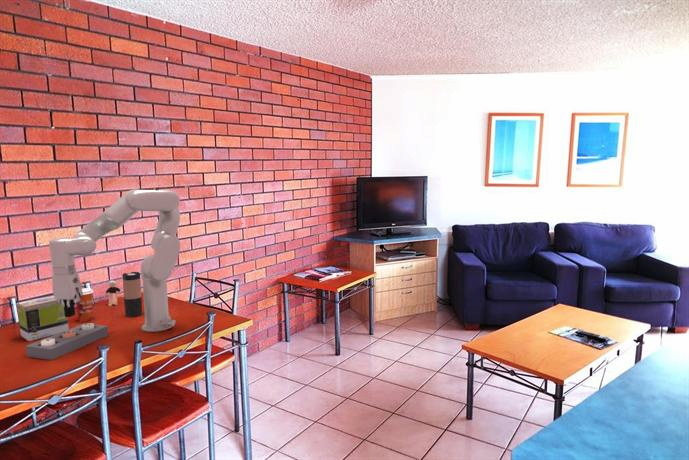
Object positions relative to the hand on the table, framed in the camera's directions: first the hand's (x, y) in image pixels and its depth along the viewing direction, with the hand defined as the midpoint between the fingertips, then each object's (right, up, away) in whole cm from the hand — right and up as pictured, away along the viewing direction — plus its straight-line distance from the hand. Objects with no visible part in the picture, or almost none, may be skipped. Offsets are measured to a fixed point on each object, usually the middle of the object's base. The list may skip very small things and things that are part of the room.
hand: (70, 316), depth 178 cm
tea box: (-19, -10, +14) cm, 25 cm away
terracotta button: (-1, -10, +1) cm, 10 cm away
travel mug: (+7, -7, +39) cm, 40 cm away
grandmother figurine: (-11, -5, +56) cm, 57 cm away
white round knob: (-3, -11, -8) cm, 14 cm away
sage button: (+2, -9, +9) cm, 13 cm away
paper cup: (-12, -8, +32) cm, 35 cm away
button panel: (-1, -12, +1) cm, 12 cm away
